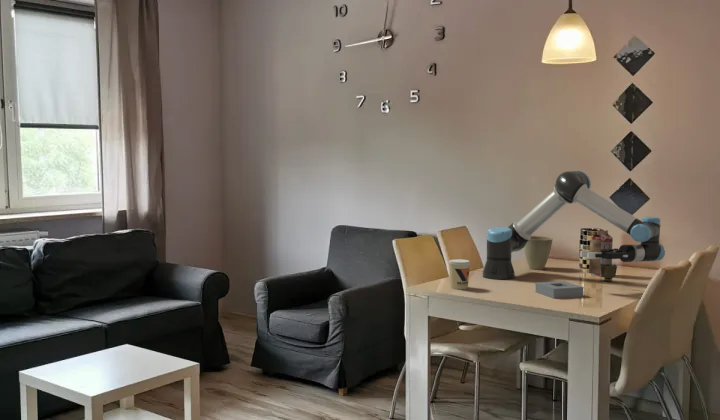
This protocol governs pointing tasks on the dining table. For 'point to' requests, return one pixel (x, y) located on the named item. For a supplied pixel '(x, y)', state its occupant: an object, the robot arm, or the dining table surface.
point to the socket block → (559, 289)
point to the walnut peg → (595, 263)
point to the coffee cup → (459, 273)
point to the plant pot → (537, 251)
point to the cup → (608, 271)
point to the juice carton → (604, 246)
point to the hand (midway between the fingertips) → (584, 254)
